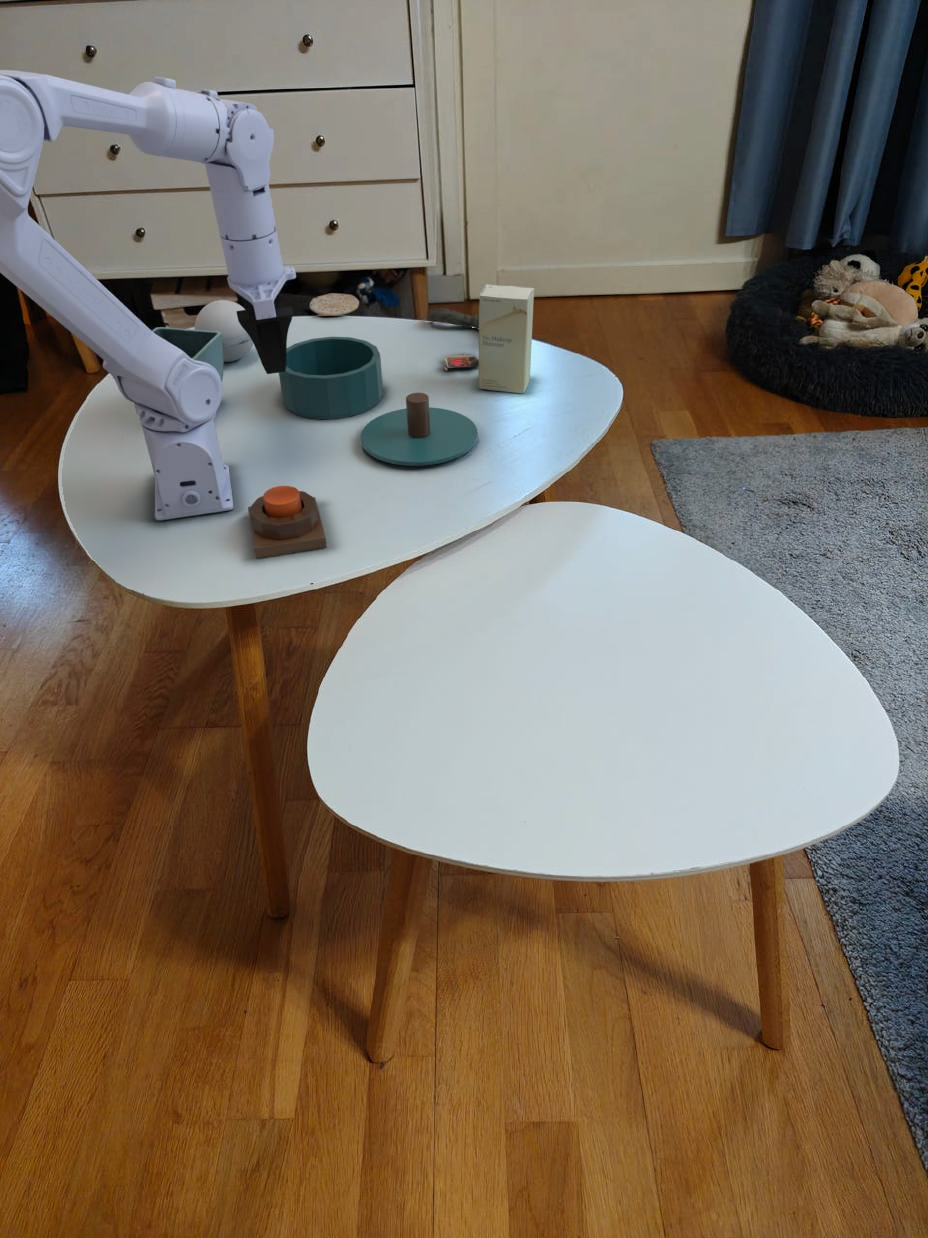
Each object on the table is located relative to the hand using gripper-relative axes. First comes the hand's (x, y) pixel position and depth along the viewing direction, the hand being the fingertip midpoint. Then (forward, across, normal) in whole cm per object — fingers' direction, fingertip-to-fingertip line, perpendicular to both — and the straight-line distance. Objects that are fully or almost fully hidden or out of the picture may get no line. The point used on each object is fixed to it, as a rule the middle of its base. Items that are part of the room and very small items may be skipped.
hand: (272, 356), depth 105 cm
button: (+7, -20, +2) cm, 21 cm away
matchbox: (+12, +15, -25) cm, 31 cm away
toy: (+8, +26, -28) cm, 40 cm away
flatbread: (+12, +41, -11) cm, 44 cm away
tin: (+11, +10, -7) cm, 16 cm away
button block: (+10, -20, +2) cm, 22 cm away
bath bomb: (+11, +26, +5) cm, 29 cm away
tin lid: (+10, -5, -15) cm, 19 cm away
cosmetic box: (+12, +7, -29) cm, 32 cm away
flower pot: (+10, +11, +11) cm, 19 cm away
